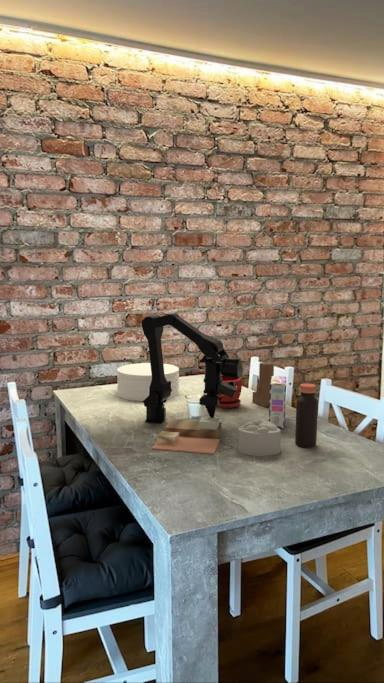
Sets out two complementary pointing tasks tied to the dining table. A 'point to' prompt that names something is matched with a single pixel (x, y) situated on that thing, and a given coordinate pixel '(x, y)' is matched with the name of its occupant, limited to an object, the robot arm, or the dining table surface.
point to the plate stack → (143, 380)
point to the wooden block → (264, 384)
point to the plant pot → (235, 401)
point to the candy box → (277, 401)
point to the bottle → (306, 417)
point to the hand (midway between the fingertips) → (212, 418)
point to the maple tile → (168, 438)
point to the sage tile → (209, 423)
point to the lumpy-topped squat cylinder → (259, 438)
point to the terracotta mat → (191, 445)
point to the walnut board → (192, 429)
